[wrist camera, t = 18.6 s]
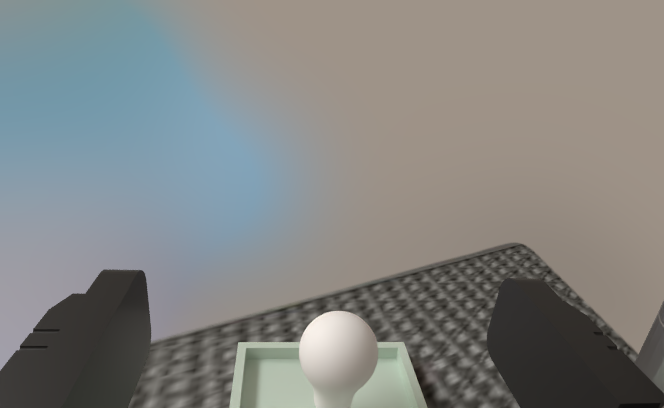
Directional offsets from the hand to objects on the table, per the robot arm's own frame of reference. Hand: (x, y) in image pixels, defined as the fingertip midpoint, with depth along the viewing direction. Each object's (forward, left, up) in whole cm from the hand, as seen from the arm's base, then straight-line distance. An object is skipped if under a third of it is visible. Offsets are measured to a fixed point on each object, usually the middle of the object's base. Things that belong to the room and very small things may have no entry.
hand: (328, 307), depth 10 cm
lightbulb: (-4, -18, -26) cm, 32 cm away
